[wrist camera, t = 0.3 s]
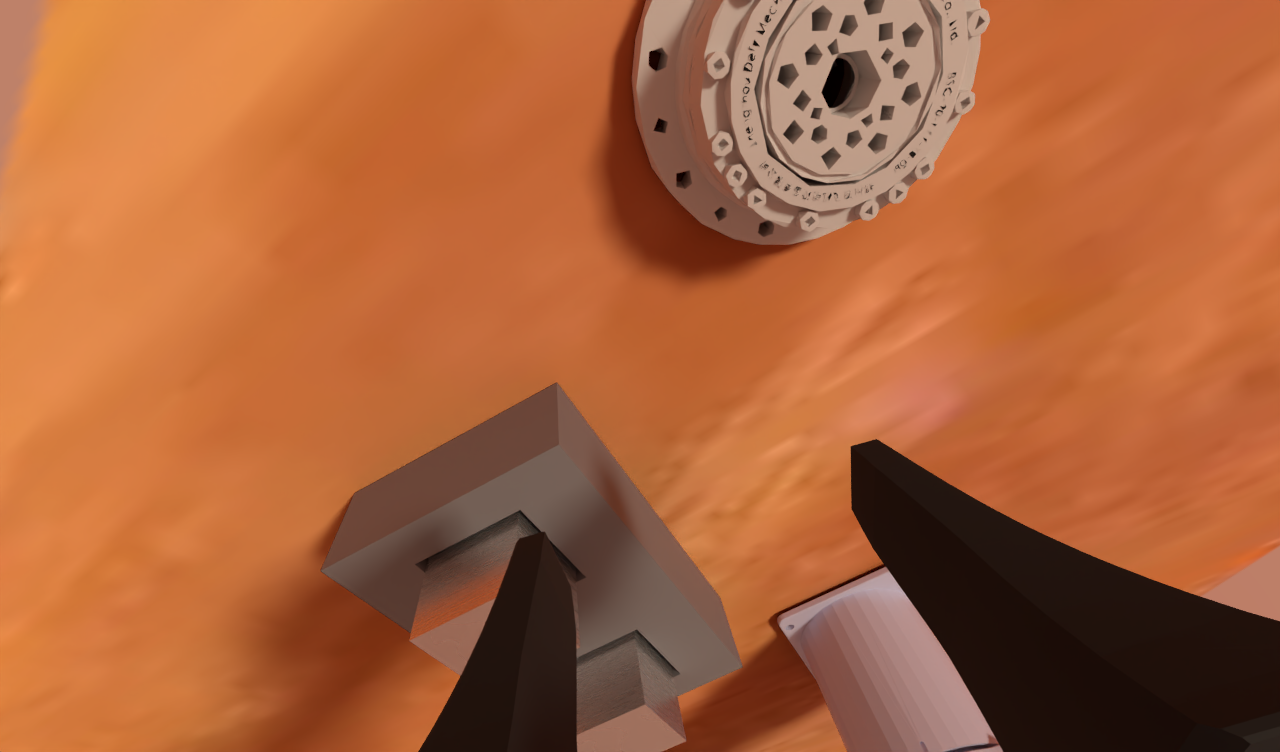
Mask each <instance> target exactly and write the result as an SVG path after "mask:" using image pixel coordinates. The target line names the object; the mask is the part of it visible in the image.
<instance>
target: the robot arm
mask: <svg viewBox="0 0 1280 752" xmlns="http://www.w3.org/2000/svg"><path fill="white" fill-rule="evenodd" d="M851 498H852V510H853V512H854V514H855V516H856V518H857V520H858V522H859V524H860V525H861V527H862V529H863V531H864V533H865V535H866V536H867V538H868V540H869V542H870V544H871V545H872V547H873V549H874V550H875V552H876V553H877V555H878V556H879V558H880V559H881V560H882V562H883V563H884V565H885V566H886V567H884V568H881V569H879V570H877V571H875V572H873V573H871V574H868V575H866V576H864V577H862V578H860V579H857V580H855V581H853V582H851V583H849V584H846V585H844V586H842V587H840V588H838V589H835V590H833V591H831V592H829V593H827V594H824V595H822V596H820V597H818V598H816V599H813V600H811V601H809V602H807V603H805V604H802V605H800V606H798V607H796V608H794V609H791V610H789V611H787V612H785V613H783V614H781V615H779V617H778V618H777V622H778V625H779V627H780V628H781V630H782V631H783V633H784V634H785V635H786V637H787V638H788V640H789V641H790V643H791V644H792V646H793V647H794V649H795V650H796V652H797V653H798V655H799V656H800V657H801V659H802V660H803V662H804V663H805V665H806V666H807V668H808V669H809V671H810V672H811V674H812V675H813V677H814V678H815V679H816V681H817V683H818V685H819V688H820V690H821V692H822V695H823V697H824V699H825V702H826V704H827V706H828V708H829V711H830V713H831V715H832V718H833V720H834V722H835V724H836V727H837V729H838V731H839V734H840V736H841V738H842V741H843V743H844V745H845V747H846V750H847V752H1280V621H1277V620H1273V619H1270V618H1266V617H1262V616H1259V615H1256V614H1252V613H1249V612H1246V611H1243V610H1239V609H1236V608H1233V607H1230V606H1227V605H1224V604H1221V603H1218V602H1215V601H1212V600H1209V599H1206V598H1203V597H1200V596H1197V595H1194V594H1191V593H1188V592H1185V591H1182V590H1179V589H1177V588H1174V587H1171V586H1168V585H1165V584H1163V583H1160V582H1157V581H1154V580H1151V579H1149V578H1146V577H1144V576H1141V575H1139V574H1136V573H1133V572H1131V571H1128V570H1126V569H1123V568H1121V567H1118V566H1115V565H1113V564H1110V563H1108V562H1105V561H1103V560H1100V559H1098V558H1096V557H1093V556H1091V555H1088V554H1086V553H1084V552H1081V551H1079V550H1077V549H1075V548H1072V547H1070V546H1068V545H1066V544H1064V543H1061V542H1059V541H1057V540H1055V539H1053V538H1050V537H1048V536H1046V535H1044V534H1042V533H1040V532H1037V531H1035V530H1033V529H1031V528H1029V527H1027V526H1025V525H1023V524H1021V523H1019V522H1017V521H1015V520H1013V519H1012V518H1010V517H1008V516H1006V515H1004V514H1002V513H1000V512H998V511H996V510H994V509H992V508H990V507H989V506H987V505H985V504H983V503H981V502H980V501H978V500H976V499H974V498H973V497H971V496H969V495H967V494H966V493H964V492H962V491H961V490H959V489H957V488H955V487H954V486H952V485H950V484H948V483H947V482H945V481H943V480H942V479H940V478H938V477H937V476H935V475H933V474H932V473H930V472H929V471H927V470H925V469H924V468H922V467H921V466H919V465H917V464H916V463H914V462H912V461H911V460H909V459H908V458H906V457H904V456H903V455H901V454H900V453H898V452H896V451H895V450H893V449H892V448H890V447H888V446H887V445H885V444H884V443H882V442H880V441H879V440H877V439H876V440H872V441H868V442H865V443H861V444H858V445H854V446H851ZM930 629H931V630H930ZM932 632H933V633H932ZM934 635H935V636H936V637H935V636H934ZM936 638H937V639H936ZM938 641H939V642H938ZM940 644H941V645H940ZM942 647H943V648H942ZM944 650H945V651H944ZM418 752H577V647H576V624H575V615H574V606H573V598H572V590H571V586H570V584H569V581H568V579H567V577H566V575H565V573H564V571H563V569H562V566H561V564H560V562H559V560H558V558H557V556H556V554H555V552H554V549H553V547H552V545H551V543H550V541H549V539H548V537H547V535H546V532H545V531H544V532H541V533H537V534H533V535H530V536H526V537H523V538H519V539H518V541H517V542H516V544H515V547H514V550H513V553H512V556H511V559H510V561H509V564H508V567H507V570H506V573H505V575H504V578H503V580H502V583H501V586H500V588H499V591H498V593H497V596H496V598H495V601H494V603H493V606H492V608H491V610H490V613H489V615H488V618H487V620H486V622H485V625H484V627H483V629H482V632H481V634H480V636H479V638H478V641H477V643H476V645H475V647H474V649H473V651H472V653H471V655H470V657H469V660H468V662H467V664H466V666H465V668H464V670H463V672H462V674H461V676H460V678H459V680H458V682H457V684H456V686H455V688H454V690H453V692H452V694H451V696H450V698H449V699H448V701H447V703H446V705H445V707H444V709H443V710H442V712H441V714H440V716H439V718H438V719H437V721H436V723H435V725H434V726H433V728H432V730H431V732H430V733H429V735H428V737H427V738H426V740H425V742H424V743H423V745H422V746H421V748H420V750H419V751H418Z"/></svg>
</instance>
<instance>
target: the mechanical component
mask: <svg viewBox="0 0 1280 752" xmlns="http://www.w3.org/2000/svg"><path fill="white" fill-rule="evenodd" d="M989 22H990V18H989V13H988V11H987V10H985V9H983V8H981V6H980V2H979V0H646V2H645V6H644V9H643V13H642V16H641V20H640V24H639V27H638V31H637V34H636V38H635V48H634V59H633V70H632V88H633V98H634V108H635V118H636V122H637V125H638V128H639V131H640V134H641V137H642V140H643V143H644V146H645V149H646V152H647V155H648V158H649V161H650V165H651V167H652V169H653V170H654V172H655V173H656V174H657V176H658V177H659V178H660V180H661V181H662V183H663V184H664V185H665V187H666V188H667V189H668V191H669V192H670V193H671V194H672V195H673V196H674V198H675V199H676V200H677V201H678V202H679V203H680V204H681V205H682V206H683V207H684V208H685V209H686V210H687V211H688V212H689V213H691V214H692V215H693V216H694V217H695V218H696V219H697V220H698V221H699V222H700V223H701V224H703V225H705V226H707V227H709V228H711V229H714V230H716V231H718V232H720V233H722V234H724V235H726V236H728V237H730V238H732V239H735V240H740V241H745V242H750V243H754V244H759V245H790V244H794V243H799V242H803V241H807V240H812V239H816V238H819V237H821V236H824V235H826V234H828V233H830V232H833V231H835V230H837V229H840V228H842V227H844V226H846V225H847V224H849V223H850V222H852V221H854V220H857V219H860V218H861V219H862V220H871V219H873V218H874V217H875V216H876V215H877V213H878V210H880V209H881V208H883V207H884V206H886V205H887V204H888V203H893V204H894V203H900V202H901V201H902V200H903V199H905V198H906V195H907V192H908V188H909V187H910V186H911V185H912V184H913V183H914V182H915V181H916V180H917V179H927V178H928V177H929V176H930V175H931V174H932V172H933V170H934V161H935V160H936V159H937V158H938V156H939V154H940V152H941V151H942V149H943V147H944V146H945V144H946V142H947V141H948V139H949V137H950V135H951V134H952V132H953V130H954V129H955V127H956V125H957V124H958V122H959V120H960V118H961V115H962V114H963V115H964V114H965V113H967V112H969V111H970V110H971V109H972V107H973V106H974V105H975V94H974V93H973V92H971V89H972V86H973V82H974V77H975V72H976V68H977V63H978V58H979V53H980V34H982V33H983V32H984V31H985V30H986V28H987V26H988V24H989ZM653 50H654V51H657V52H659V53H661V55H660V59H659V63H658V68H657V70H654V69H652V68H651V67H650V66H649V52H650V51H653ZM836 58H842V59H843V61H844V78H843V82H842V86H841V89H840V92H839V94H838V97H837V99H836V100H835V102H834V104H833V106H832V108H829V107H828V105H827V103H826V101H825V99H824V97H823V95H822V92H823V89H824V86H825V83H826V80H827V77H828V74H829V72H830V71H831V70H832V69H833V68H835V67H836V66H837V64H836V62H835V59H836ZM658 118H660V120H661V127H660V128H658V129H656V130H654V128H655V126H656V123H657V120H658ZM681 172H685V175H684V177H683V179H682V180H681V182H677V181H676V174H677V173H681ZM715 211H717V212H715ZM762 222H763V223H762ZM760 223H762V224H761V225H760V226H759V224H760Z"/></svg>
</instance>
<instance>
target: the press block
mask: <svg viewBox="0 0 1280 752" xmlns="http://www.w3.org/2000/svg"><path fill="white" fill-rule="evenodd" d="M519 510H521V511H522V512H523V513H524V514H525V515H526V516H527V517H528V518H529V519H530V520H531V521H532V522H533V523H534V525H535V526H536V527H537V528H538V529H539V530H540V531H541V532H544V531H545V532H546V535H547V537H548V539H549V540H550V541H551V542H552V543H553V544H554V545H555V546H556V547H557V548H558V549H559V550H560V551H561V552H562V553H563V554H564V555H565V556H566V557H567V558H568V559H569V560H570V561H571V562H572V563H573V564H574V565H575V569H576V585H577V602H578V619H579V636H580V648H578V649H577V657H579V656H582V655H584V654H586V653H588V652H590V651H592V650H594V649H596V648H599V647H601V646H603V645H605V644H607V643H609V642H611V641H613V640H616V639H618V638H620V637H622V636H624V635H626V634H628V633H631V632H633V631H635V630H638V631H639V632H640V633H641V634H642V635H643V636H644V637H645V638H646V639H647V640H648V641H649V642H650V643H651V644H652V645H653V646H654V647H655V648H656V649H657V650H658V651H659V652H660V653H661V654H662V655H663V656H664V657H665V658H666V660H667V661H668V662H669V663H670V664H671V668H672V673H673V678H674V683H675V688H676V692H677V696H679V695H681V694H684V693H686V692H688V691H690V690H693V689H695V688H697V687H699V686H702V685H704V684H706V683H708V682H711V681H713V680H715V679H717V678H720V677H722V676H724V675H726V674H728V673H731V672H733V671H735V670H737V669H740V668H742V667H743V666H742V663H741V660H740V657H739V654H738V651H737V648H736V645H735V642H734V639H733V636H732V633H731V629H730V626H729V623H728V620H727V617H726V614H725V611H724V608H723V605H722V602H721V599H720V597H719V596H718V594H717V593H716V592H715V590H714V589H713V588H712V586H711V585H710V584H709V582H708V581H707V580H706V579H705V577H704V576H703V575H702V573H701V572H700V571H699V569H698V568H697V567H696V565H695V564H694V563H693V561H692V560H691V559H690V557H689V556H688V555H687V553H686V552H685V551H684V550H683V548H682V547H681V546H680V544H679V543H678V542H677V540H676V539H675V538H674V536H673V535H672V534H671V532H670V531H669V530H668V528H667V527H666V526H665V524H664V523H663V522H662V520H661V519H660V518H659V517H658V515H657V514H656V513H655V511H654V510H653V509H652V507H651V506H650V505H649V503H648V502H647V501H646V499H645V498H644V497H643V495H642V494H641V493H640V491H639V490H638V489H637V488H636V486H635V485H634V484H633V482H632V481H631V480H630V478H629V477H628V476H627V474H626V473H625V472H624V470H623V469H622V468H621V466H620V465H619V464H618V462H617V461H616V460H615V459H614V457H613V456H612V455H611V453H610V452H609V451H608V449H607V448H606V447H605V445H604V444H603V443H602V441H601V440H600V439H599V437H598V436H597V435H596V433H595V432H594V431H593V430H592V428H591V427H590V426H589V424H588V423H587V422H586V420H585V419H584V418H583V416H582V415H581V414H580V412H579V411H578V410H577V408H576V407H575V406H574V404H573V403H572V402H571V400H570V399H569V398H568V397H567V395H566V394H565V393H564V391H563V390H562V389H561V387H560V386H559V385H558V383H555V384H553V385H551V386H549V387H548V388H546V389H544V390H542V391H540V392H538V393H537V394H535V395H533V396H531V397H529V398H527V399H526V400H524V401H522V402H520V403H518V404H517V405H515V406H513V407H511V408H509V409H507V410H506V411H504V412H502V413H500V414H498V415H496V416H495V417H493V418H491V419H489V420H487V421H485V422H484V423H482V424H480V425H478V426H476V427H475V428H473V429H471V430H469V431H467V432H465V433H464V434H462V435H460V436H458V437H456V438H454V439H453V440H451V441H449V442H447V443H445V444H443V445H442V446H440V447H438V448H436V449H434V450H433V451H431V452H429V453H427V454H425V455H423V456H422V457H420V458H418V459H416V460H414V461H412V462H411V463H409V464H407V465H405V466H403V467H402V468H400V469H398V470H396V471H394V472H392V473H391V474H389V475H387V476H385V477H383V478H381V479H380V480H378V481H376V482H374V483H372V484H370V485H369V486H367V487H365V488H363V489H361V490H360V491H358V492H356V493H354V495H353V498H352V500H351V502H350V505H349V507H348V509H347V511H346V514H345V516H344V518H343V521H342V523H341V525H340V527H339V530H338V532H337V534H336V536H335V539H334V541H333V543H332V546H331V548H330V550H329V552H328V555H327V557H326V559H325V562H324V564H323V566H322V568H321V572H322V573H324V574H325V575H327V576H328V577H330V578H331V579H333V580H334V581H336V582H337V583H338V584H340V585H341V586H343V587H344V588H346V589H347V590H349V591H350V592H352V593H353V594H354V595H356V596H357V597H359V598H360V599H362V600H363V601H365V602H366V603H368V604H369V605H370V606H372V607H373V608H375V609H376V610H378V611H379V612H381V613H382V614H384V615H385V616H386V617H388V618H389V619H391V620H392V621H394V622H395V623H397V624H398V625H399V626H401V627H402V628H404V629H405V630H407V631H408V632H410V633H411V631H412V626H413V622H414V618H415V613H416V609H417V605H418V601H419V596H420V592H421V588H422V583H423V579H424V575H425V571H426V566H427V562H428V558H429V557H430V556H432V555H434V554H436V553H438V552H440V551H442V550H444V549H446V548H447V547H449V546H451V545H453V544H455V543H457V542H459V541H461V540H463V539H465V538H467V537H469V536H471V535H473V534H475V533H476V532H478V531H480V530H482V529H484V528H486V527H488V526H490V525H492V524H494V523H496V522H498V521H500V520H502V519H503V518H505V517H507V516H509V515H511V514H513V513H515V512H517V511H519Z"/></svg>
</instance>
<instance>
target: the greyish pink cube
mask: <svg viewBox="0 0 1280 752" xmlns="http://www.w3.org/2000/svg"><path fill="white" fill-rule="evenodd" d="M537 533H541V531H540V530H539V529H538V528H537V527H536V526H535V525H534V523H533V522H532V521H531V520H530V519H529V518H528V517H527V516H526V515H525V514H524V513H523V512H522V511H521V510H519V511H517V512H515V513H513V514H511V515H509V516H507V517H505V518H503V519H502V520H500V521H498V522H496V523H494V524H492V525H490V526H488V527H486V528H484V529H482V530H480V531H478V532H476V533H475V534H473V535H471V536H469V537H467V538H465V539H463V540H461V541H459V542H457V543H455V544H453V545H451V546H449V547H447V548H446V549H444V550H442V551H440V552H438V553H436V554H434V555H432V556H430V557H429V558H428V562H427V566H426V571H425V575H424V579H423V583H422V588H421V592H420V596H419V601H418V605H417V609H416V613H415V618H414V622H413V626H412V631H411V635H410V639H409V641H410V642H411V643H413V644H414V645H416V646H417V647H419V648H420V649H422V650H423V651H425V652H426V653H428V654H429V655H431V656H432V657H434V658H435V659H437V660H438V661H439V662H441V663H442V664H444V665H445V666H447V667H448V668H450V669H451V670H453V671H454V672H456V673H457V674H459V675H460V676H461V674H462V672H463V670H464V668H465V666H466V664H467V662H468V660H469V657H470V655H471V653H472V651H473V649H474V647H475V645H476V643H477V641H478V638H479V636H480V634H481V632H482V629H483V627H484V625H485V622H486V620H487V618H488V615H489V613H490V610H491V608H492V606H493V603H494V601H495V598H496V596H497V593H498V591H499V588H500V586H501V583H502V580H503V578H504V575H505V573H506V570H507V567H508V564H509V561H510V559H511V556H512V553H513V550H514V547H515V544H516V542H517V541H518V539H519V538H523V537H526V536H530V535H533V534H537ZM549 541H550V540H549ZM550 543H551V545H552V547H553V549H554V552H555V554H556V556H557V558H558V560H559V562H560V564H561V566H562V569H563V571H564V573H565V575H566V577H567V579H568V581H569V584H570V586H571V590H572V598H573V606H574V615H575V624H576V647H577V649H578V648H580V636H579V619H578V602H577V585H576V569H575V565H574V564H573V563H572V562H571V561H570V560H569V559H568V558H567V557H566V556H565V555H564V554H563V553H562V552H561V551H560V550H559V549H558V548H557V547H556V546H555V545H554V544H553V543H552V542H551V541H550Z"/></svg>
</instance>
